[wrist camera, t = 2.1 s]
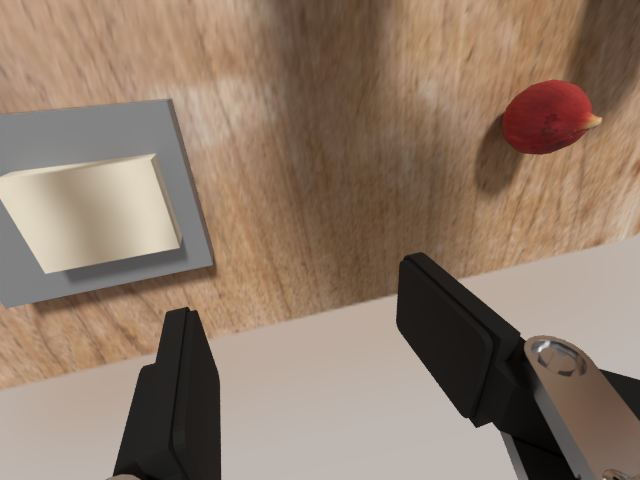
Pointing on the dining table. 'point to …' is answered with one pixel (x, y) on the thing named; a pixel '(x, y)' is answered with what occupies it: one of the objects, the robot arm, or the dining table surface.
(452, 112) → the dining table surface
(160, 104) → the grey flat slab
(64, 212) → the birch tile
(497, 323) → the robot arm
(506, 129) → the onion
